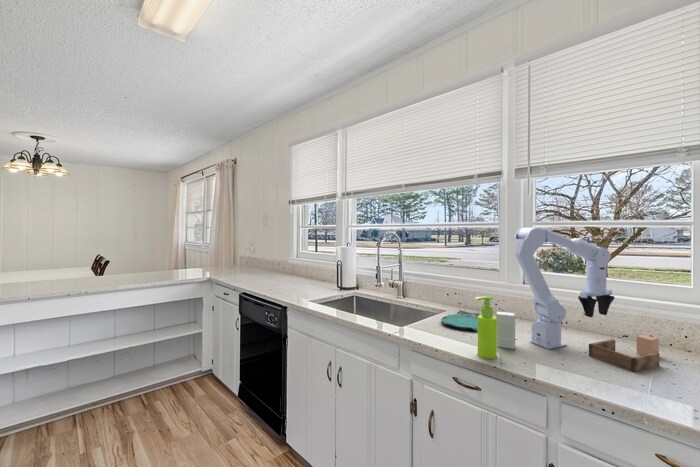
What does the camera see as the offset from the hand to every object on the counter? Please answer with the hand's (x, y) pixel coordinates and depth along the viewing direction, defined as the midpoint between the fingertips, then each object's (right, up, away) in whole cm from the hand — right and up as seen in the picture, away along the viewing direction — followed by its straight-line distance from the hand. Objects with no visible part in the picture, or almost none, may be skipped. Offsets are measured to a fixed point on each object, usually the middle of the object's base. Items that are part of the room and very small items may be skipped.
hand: (596, 315), depth 116 cm
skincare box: (-34, -11, -2) cm, 36 cm away
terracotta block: (+9, -11, -10) cm, 17 cm away
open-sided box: (-2, -11, -14) cm, 18 cm away
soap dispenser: (-45, -11, -10) cm, 48 cm away
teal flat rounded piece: (-37, -11, +28) cm, 48 cm away
